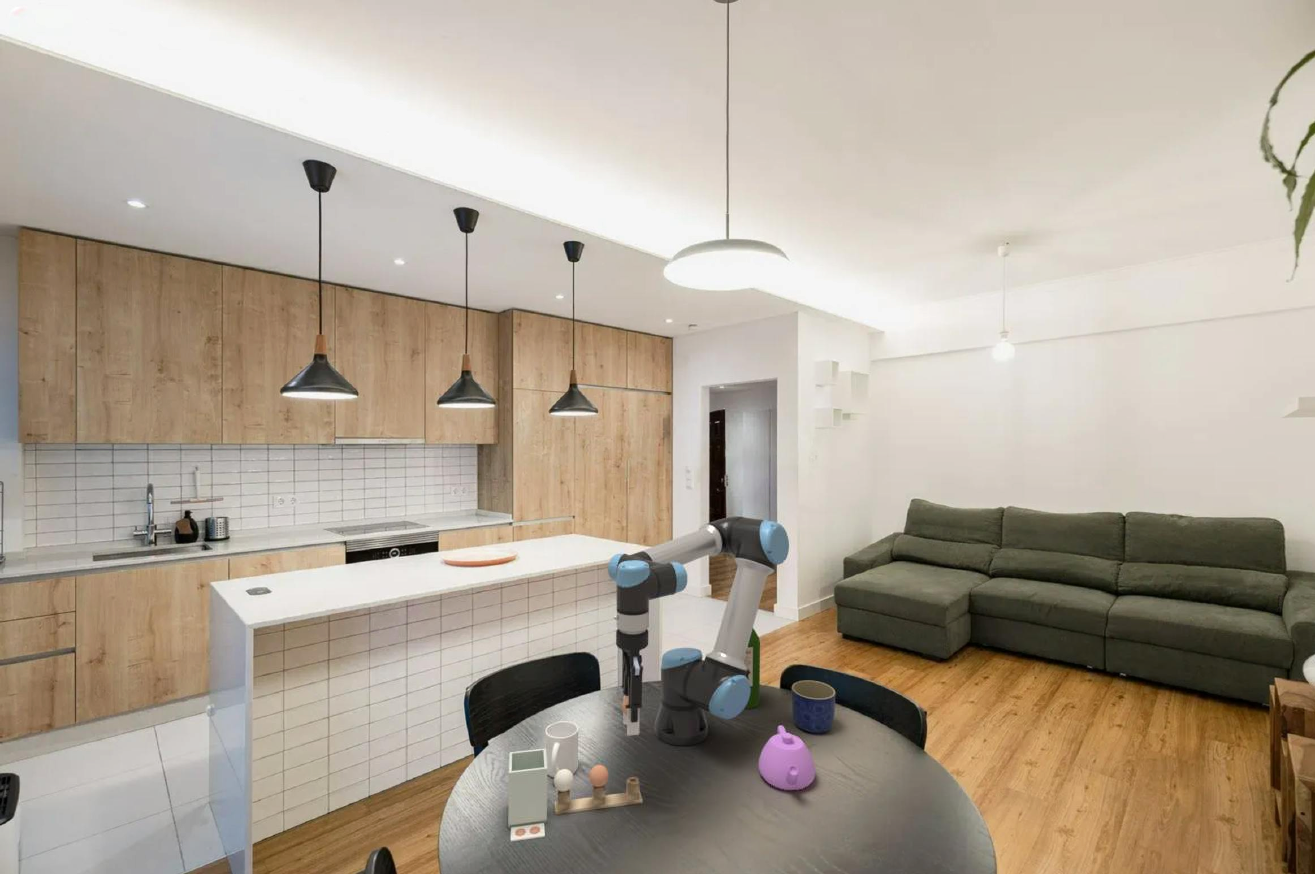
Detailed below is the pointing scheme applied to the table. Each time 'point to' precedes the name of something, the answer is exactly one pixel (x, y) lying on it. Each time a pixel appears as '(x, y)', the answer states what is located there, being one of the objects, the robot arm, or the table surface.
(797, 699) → the planter
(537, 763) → the grey-green tall hollow box
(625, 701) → the ball
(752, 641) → the wine bottle
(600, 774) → the ball
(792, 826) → the table surface
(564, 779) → the ball
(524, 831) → the card
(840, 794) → the table surface
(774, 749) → the teapot
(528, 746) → the table surface
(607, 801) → the rack
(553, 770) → the mug
